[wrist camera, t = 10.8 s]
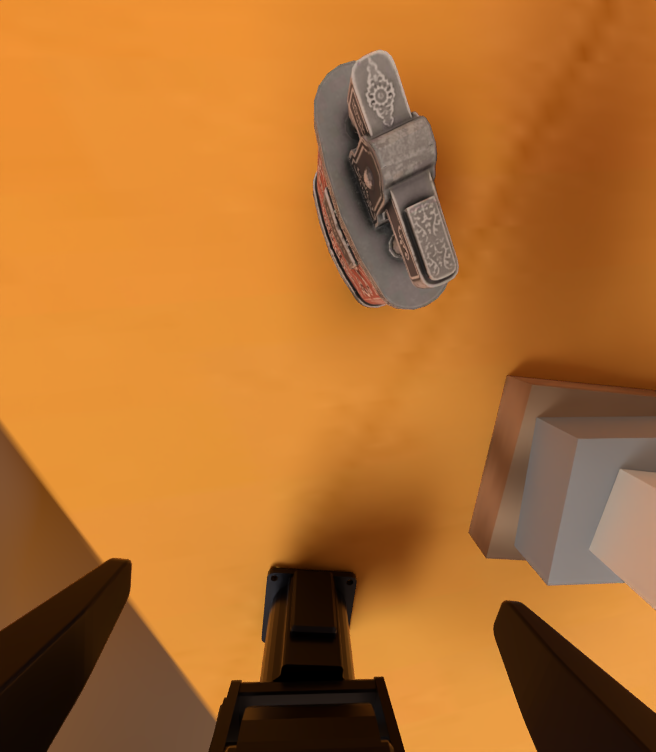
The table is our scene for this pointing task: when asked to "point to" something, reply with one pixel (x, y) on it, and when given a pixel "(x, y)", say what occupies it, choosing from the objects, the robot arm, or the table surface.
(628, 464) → the top block
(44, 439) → the table surface
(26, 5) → the table surface
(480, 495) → the base block
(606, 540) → the cube
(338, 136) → the lighter
